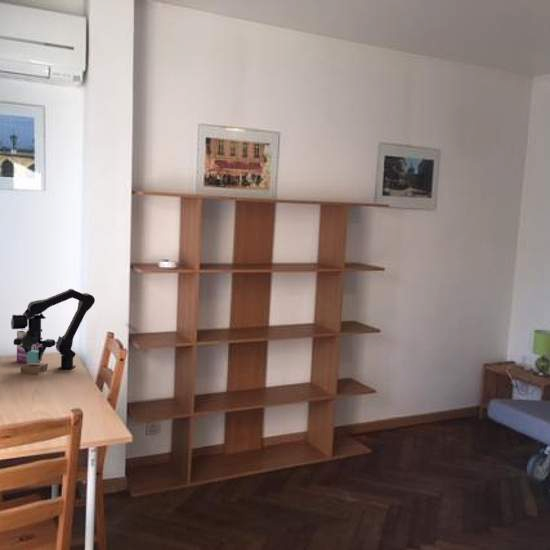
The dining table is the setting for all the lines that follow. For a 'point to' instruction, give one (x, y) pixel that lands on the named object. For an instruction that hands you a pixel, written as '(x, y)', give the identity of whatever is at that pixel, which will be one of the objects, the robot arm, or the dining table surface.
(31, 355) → the teal cube
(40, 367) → the walnut base block
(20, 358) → the candy bar box
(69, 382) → the dining table surface
